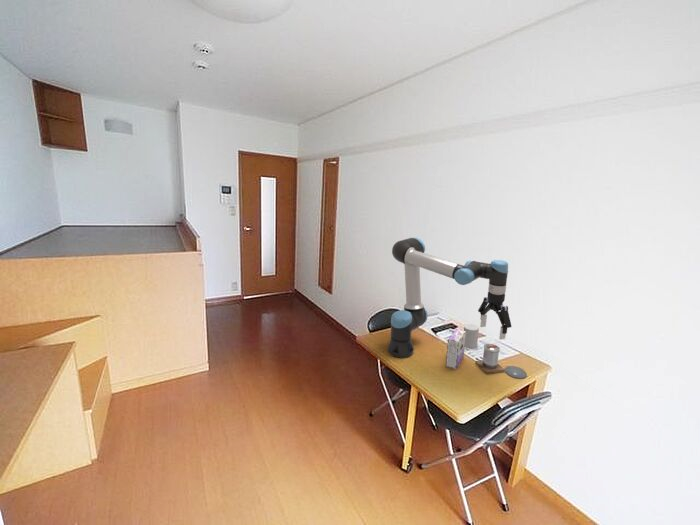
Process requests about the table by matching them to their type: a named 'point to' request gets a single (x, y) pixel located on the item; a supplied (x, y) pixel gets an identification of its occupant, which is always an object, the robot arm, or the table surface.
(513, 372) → the coaster
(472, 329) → the cup
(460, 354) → the candy box
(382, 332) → the table surface
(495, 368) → the post stand
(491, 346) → the grey cylinder
